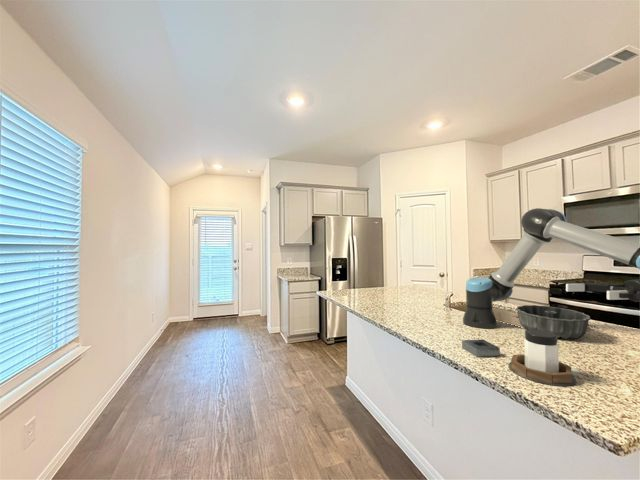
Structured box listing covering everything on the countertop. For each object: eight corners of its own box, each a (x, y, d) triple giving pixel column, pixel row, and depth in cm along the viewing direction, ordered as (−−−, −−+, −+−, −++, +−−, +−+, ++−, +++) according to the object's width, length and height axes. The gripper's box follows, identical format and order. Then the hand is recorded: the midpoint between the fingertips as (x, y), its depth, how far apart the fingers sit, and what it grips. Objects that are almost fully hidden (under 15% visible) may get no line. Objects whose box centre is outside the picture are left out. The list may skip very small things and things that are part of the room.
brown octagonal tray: (496, 362, 97) (496, 354, 97) (541, 360, 98) (541, 352, 98) (538, 387, 80) (538, 377, 80) (592, 384, 81) (592, 375, 81)
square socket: (462, 347, 110) (462, 340, 110) (483, 347, 111) (483, 339, 111) (476, 357, 101) (476, 348, 101) (499, 356, 102) (499, 347, 102)
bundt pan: (607, 340, 118) (607, 317, 118) (558, 345, 112) (557, 321, 112) (545, 323, 143) (545, 303, 143) (503, 326, 138) (502, 306, 138)
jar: (540, 377, 85) (539, 338, 85) (518, 365, 93) (517, 330, 93) (566, 375, 86) (565, 336, 86) (542, 364, 94) (541, 328, 94)
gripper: (694, 310, 83) (629, 311, 81) (604, 294, 108) (552, 294, 106) (694, 285, 83) (629, 286, 81) (604, 274, 108) (552, 275, 106)
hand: (585, 291), depth 94 cm, fingers open, 13 cm apart
